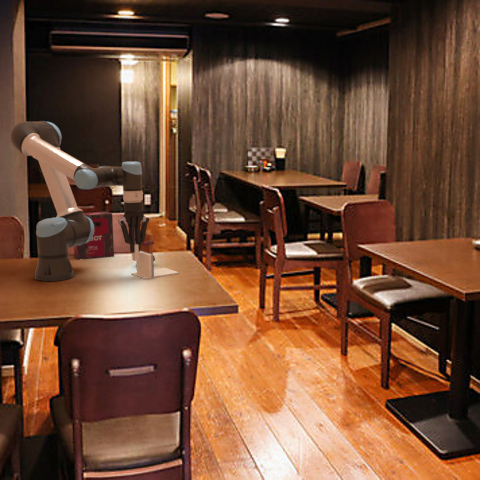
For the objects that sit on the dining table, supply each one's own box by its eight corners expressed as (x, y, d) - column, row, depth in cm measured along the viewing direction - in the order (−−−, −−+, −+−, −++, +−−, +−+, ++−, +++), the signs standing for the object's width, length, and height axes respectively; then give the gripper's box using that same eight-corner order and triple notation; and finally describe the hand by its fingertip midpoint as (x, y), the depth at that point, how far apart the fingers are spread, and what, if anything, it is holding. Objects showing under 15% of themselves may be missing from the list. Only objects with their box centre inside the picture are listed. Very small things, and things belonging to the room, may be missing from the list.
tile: (137, 273, 270) (136, 251, 269) (141, 272, 272) (140, 250, 270) (149, 277, 263) (148, 255, 261) (153, 276, 264) (153, 254, 262)
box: (78, 259, 300) (75, 216, 296) (74, 256, 308) (72, 213, 304) (114, 256, 307) (112, 213, 303) (109, 253, 314) (107, 211, 311)
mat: (131, 274, 270) (131, 273, 270) (164, 269, 280) (164, 267, 280) (145, 279, 262) (144, 278, 261) (179, 273, 271) (179, 272, 271)
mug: (156, 267, 283) (155, 233, 280) (137, 268, 281) (136, 233, 278) (152, 260, 297) (151, 227, 294) (134, 261, 295) (132, 228, 292)
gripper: (122, 203, 253) (125, 264, 257) (152, 200, 261) (154, 259, 265) (113, 201, 259) (116, 261, 263) (143, 199, 266) (145, 256, 271)
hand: (135, 260), depth 264 cm, fingers closed
